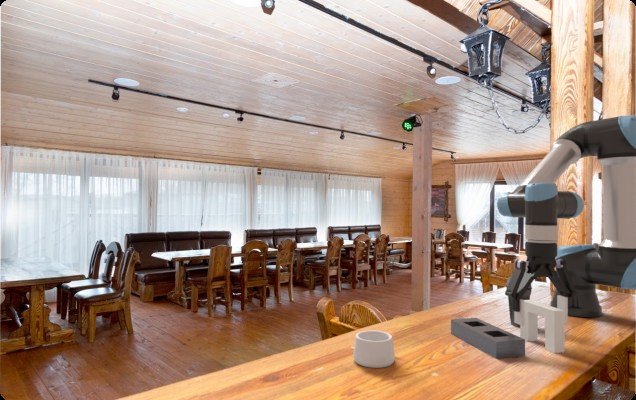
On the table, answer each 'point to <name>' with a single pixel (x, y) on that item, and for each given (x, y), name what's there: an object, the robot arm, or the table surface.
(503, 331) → the cinder block
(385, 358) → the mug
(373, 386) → the table surface
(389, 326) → the table surface
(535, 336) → the white arch
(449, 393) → the table surface
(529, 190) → the robot arm
